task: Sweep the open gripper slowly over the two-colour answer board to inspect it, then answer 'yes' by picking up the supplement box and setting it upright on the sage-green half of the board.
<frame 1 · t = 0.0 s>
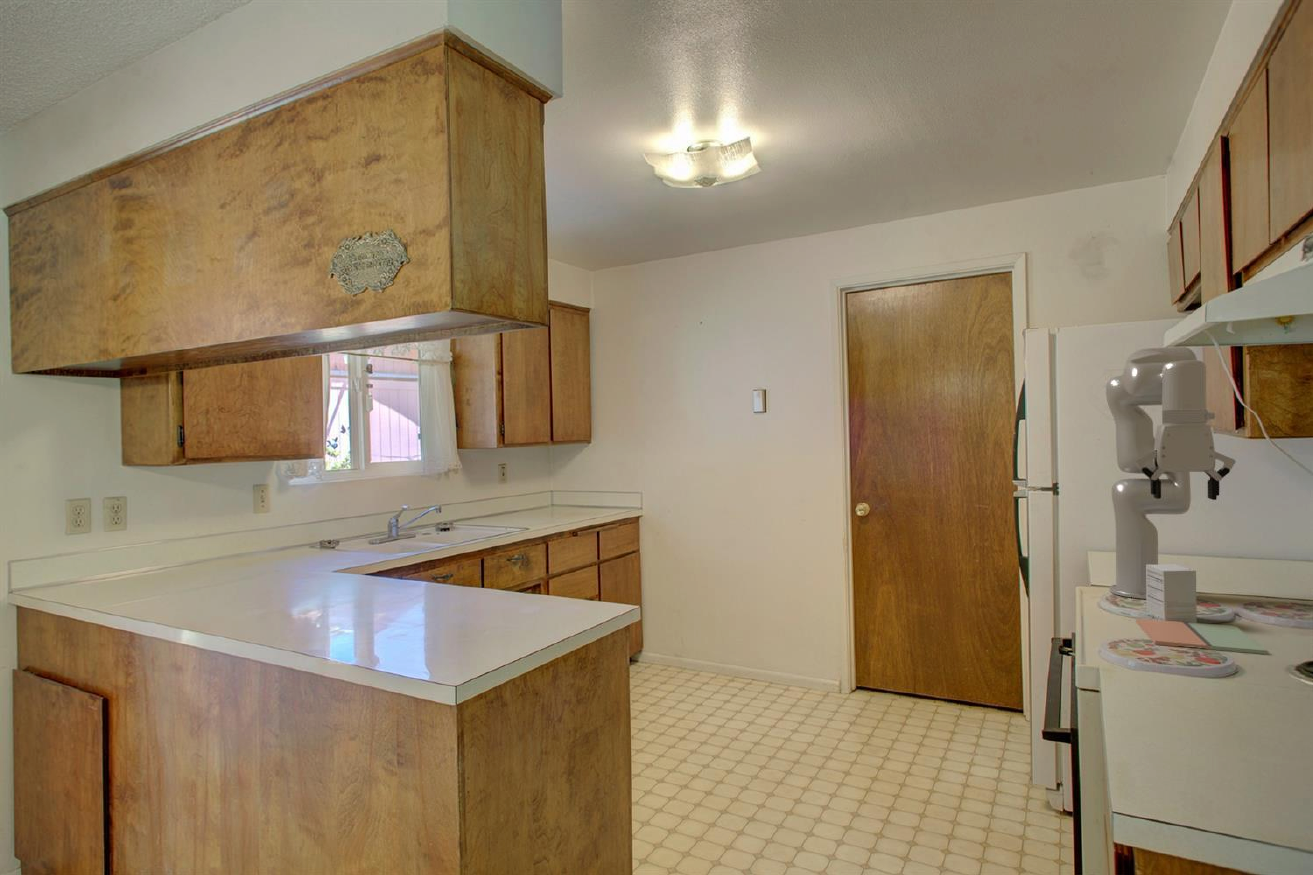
hand: (1184, 498, 149), 31 cm above the counter, tool pointing down, fingers open, 9 cm apart
supplement box: (1170, 620, 168), on the counter
answer board: (1196, 636, 154), on the counter
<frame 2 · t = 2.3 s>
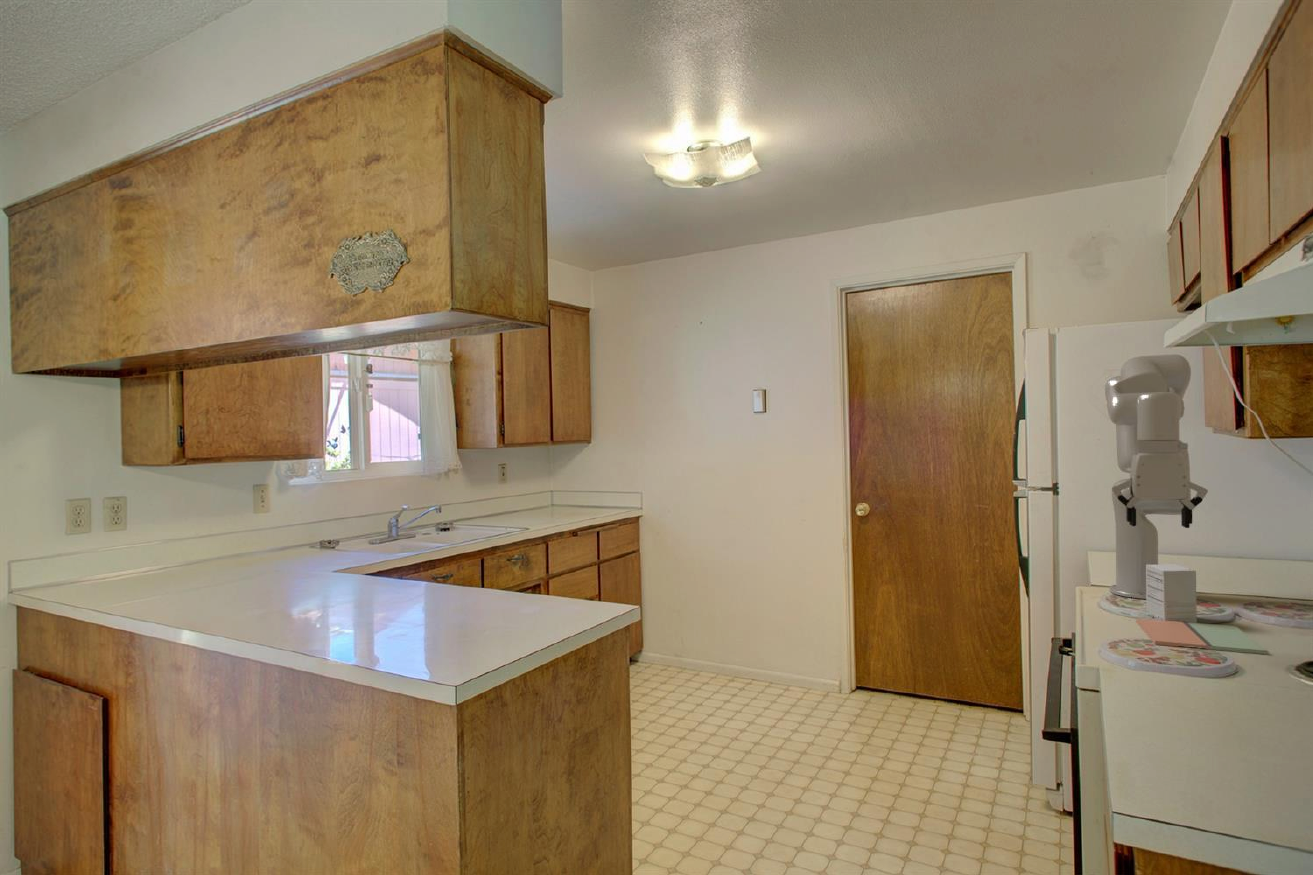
hand: (1158, 526, 153), 25 cm above the counter, tool pointing down, fingers open, 9 cm apart
nothing on the counter moved.
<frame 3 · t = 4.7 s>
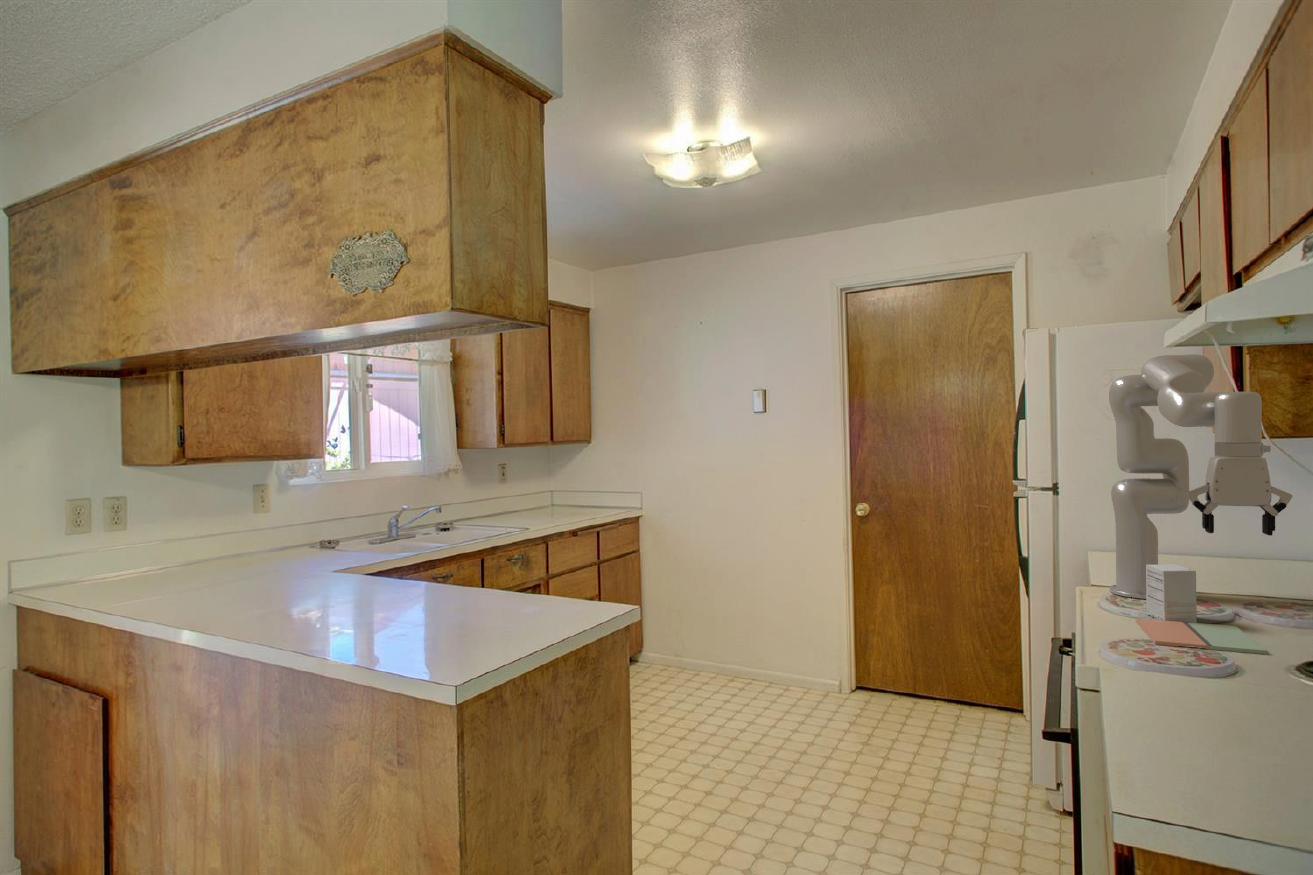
hand: (1238, 533, 145), 24 cm above the counter, tool pointing down, fingers open, 9 cm apart
nothing on the counter moved.
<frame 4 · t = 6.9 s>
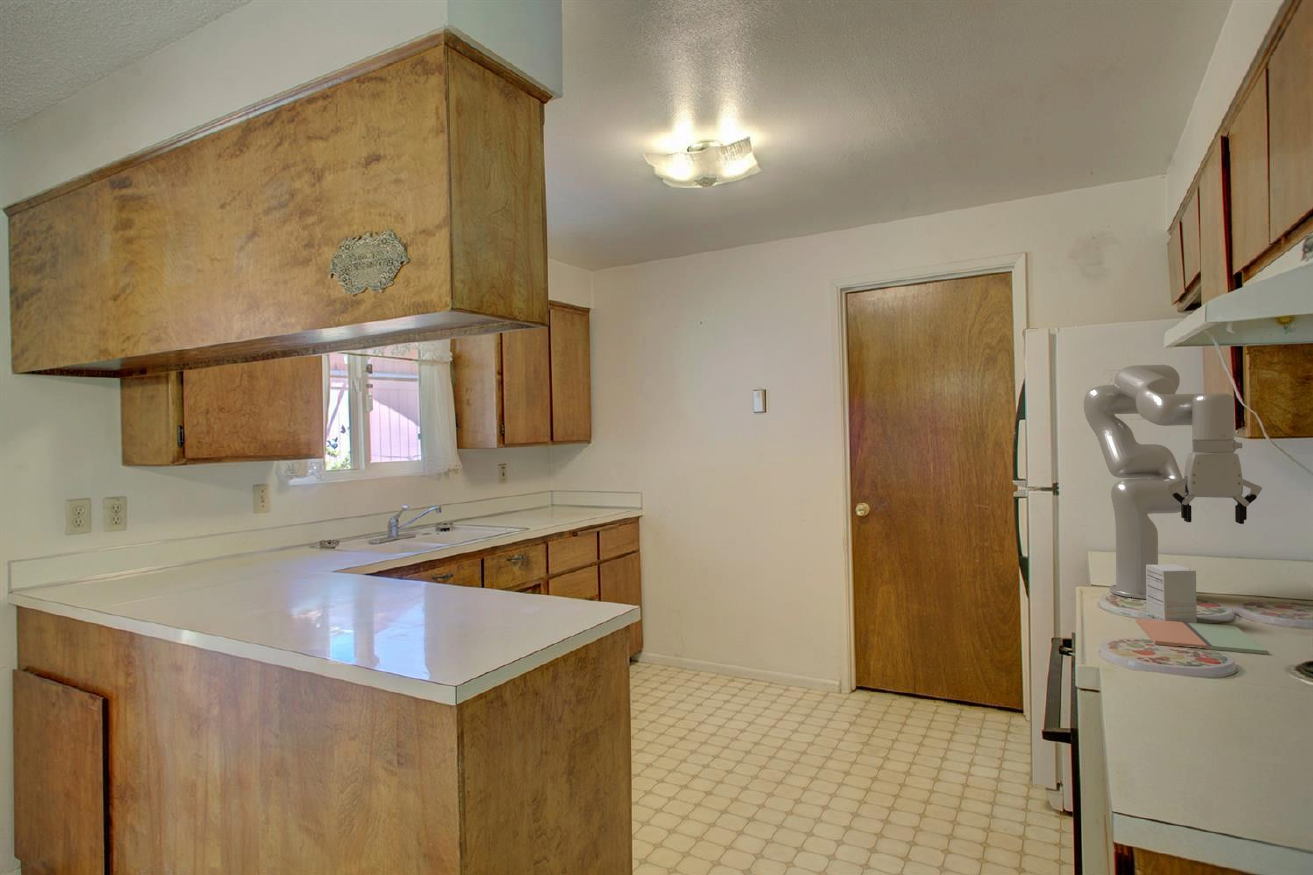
hand: (1213, 522, 160), 24 cm above the counter, tool pointing down, fingers open, 9 cm apart
nothing on the counter moved.
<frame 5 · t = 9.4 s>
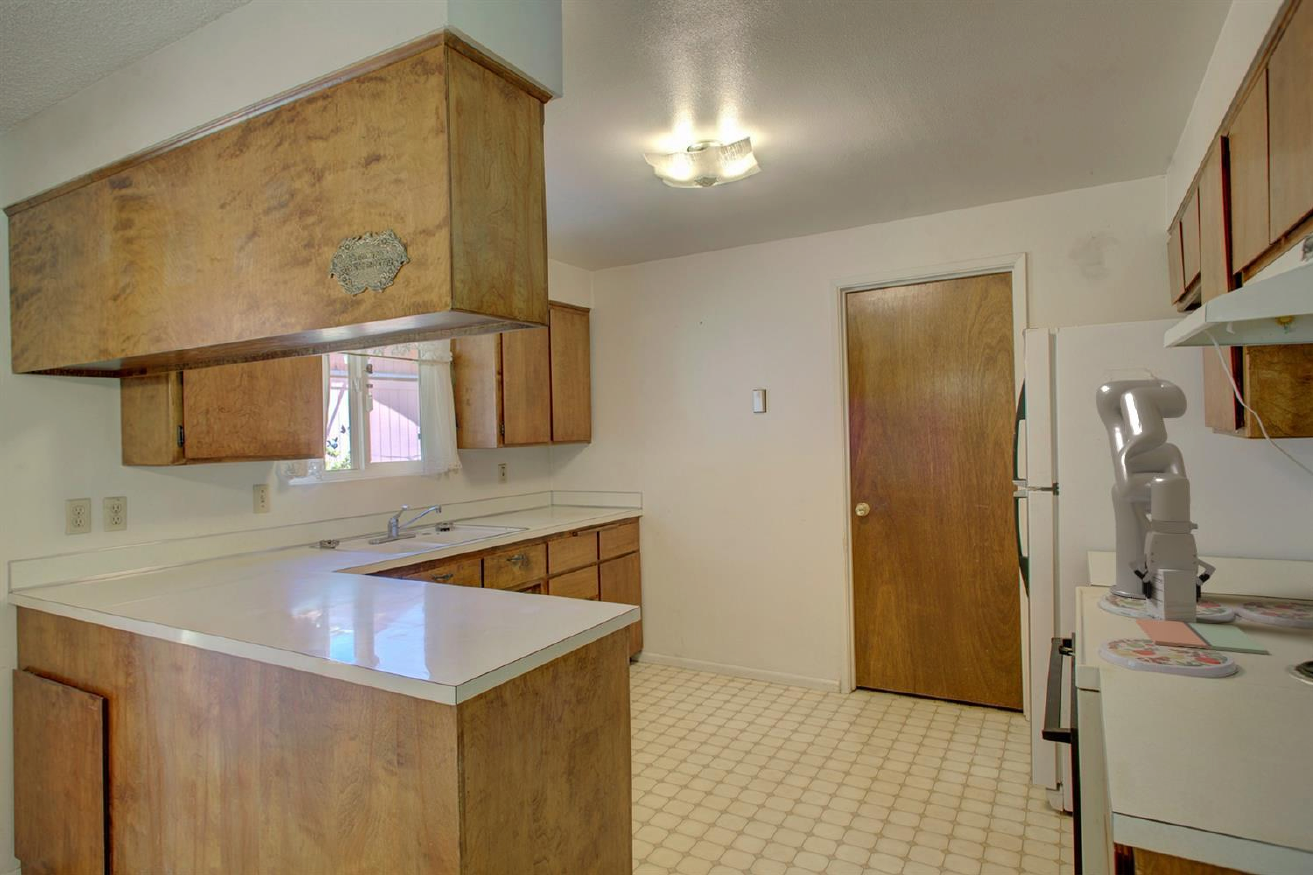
hand: (1171, 599, 167), 5 cm above the counter, tool pointing down, fingers closed on supplement box, 8 cm apart
supplement box: (1170, 620, 168), on the counter, touching gripper
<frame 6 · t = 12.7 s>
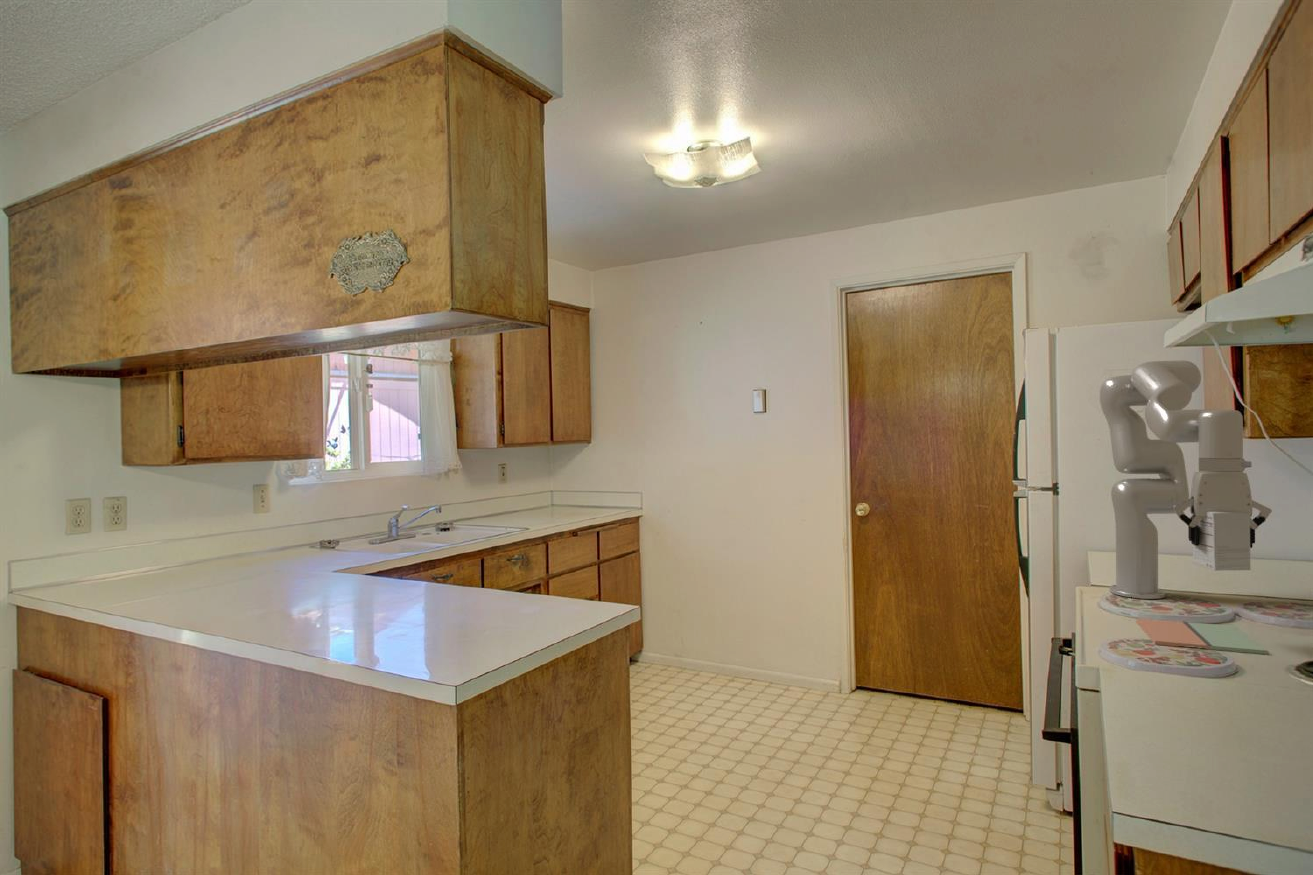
hand: (1221, 545, 152), 20 cm above the counter, tool pointing down, fingers closed on supplement box, 8 cm apart
supplement box: (1220, 568, 152), point 15 cm above the counter, touching gripper
when the fingers open (7 cm above the counter, at t = 16.0 s): supplement box drops 1 cm, resting on answer board.
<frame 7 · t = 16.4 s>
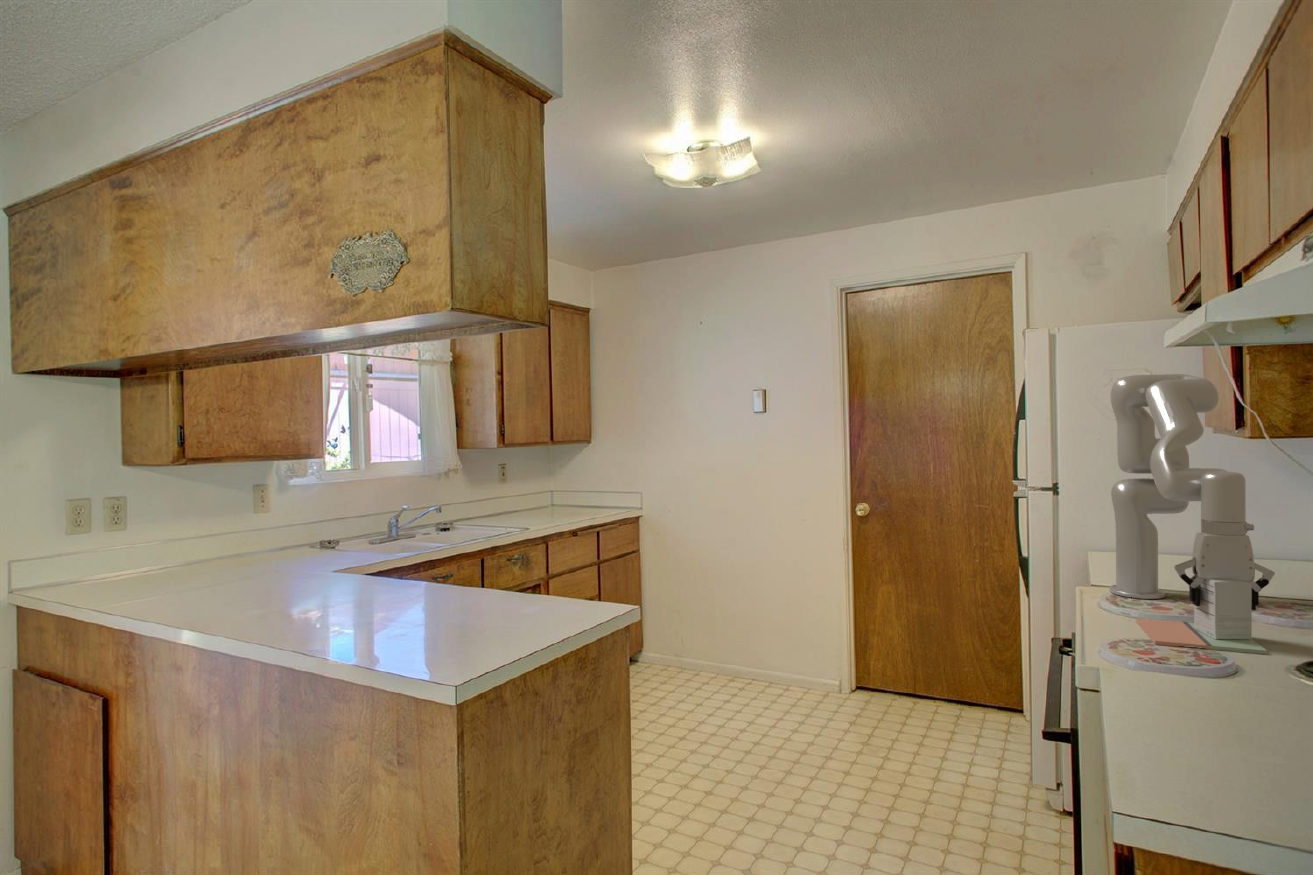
hand: (1223, 606, 152), 7 cm above the counter, tool pointing down, fingers open, 9 cm apart
supplement box: (1221, 635, 153), point 1 cm above the counter, touching answer board
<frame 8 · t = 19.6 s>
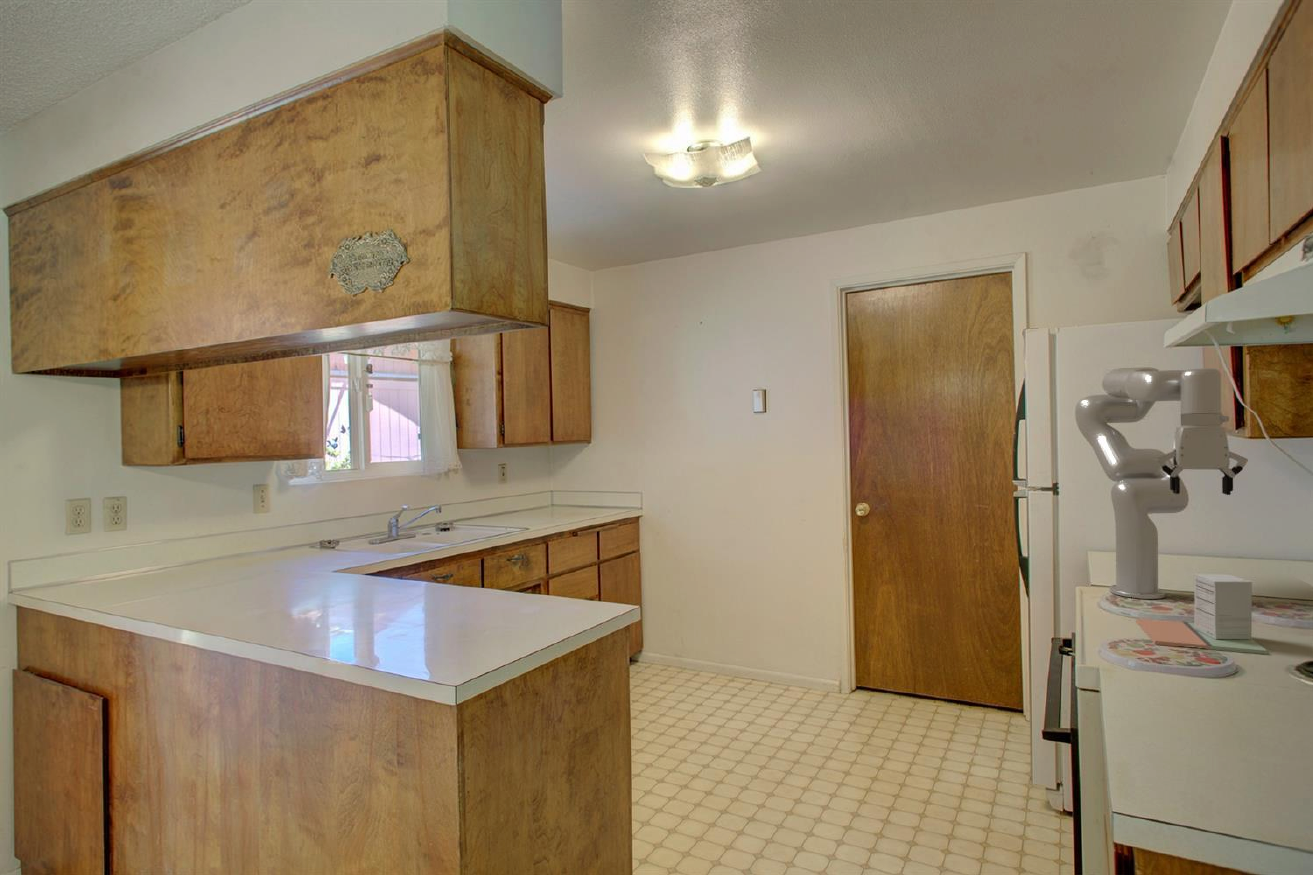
hand: (1200, 493, 164), 30 cm above the counter, tool pointing down, fingers open, 9 cm apart
nothing on the counter moved.
at the end: supplement box inside the target area on the answer board (0.7 cm from its centre), point 0.7 cm above the answer board's base; supplement box tilted 1°; the gripper is holding nothing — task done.
